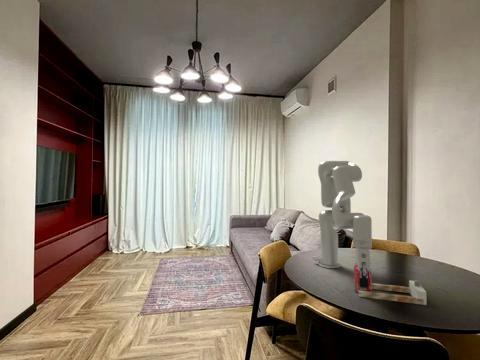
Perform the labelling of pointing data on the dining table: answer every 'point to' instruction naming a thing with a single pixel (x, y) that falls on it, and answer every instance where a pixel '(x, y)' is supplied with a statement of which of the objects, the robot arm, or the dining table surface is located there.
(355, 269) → the soda can
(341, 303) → the dining table surface
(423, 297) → the connector block
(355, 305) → the dining table surface
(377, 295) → the guide channel
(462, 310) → the dining table surface
